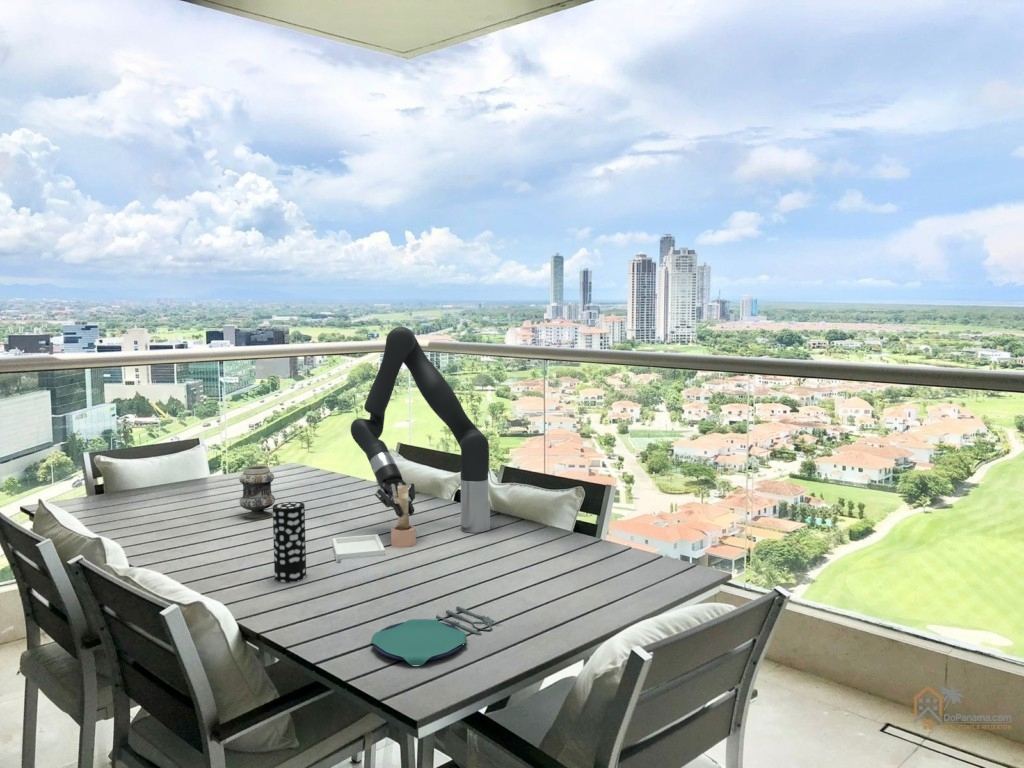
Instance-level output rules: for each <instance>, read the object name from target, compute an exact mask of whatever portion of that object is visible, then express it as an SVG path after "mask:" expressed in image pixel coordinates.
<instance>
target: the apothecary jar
mask: <svg viewBox="0 0 1024 768" xmlns="http://www.w3.org/2000/svg"><path fill="white" fill-rule="evenodd" d="M238 480H239V482H240V483H241V484H242V488H243V489H242V497H241V498H240V499H239V505H240V506H241V508H243V509H245V510H247V511H249V512H248V513H246V514H244V515H243V519H244V518H245V520H247V519H249V521H253V520H254V521H257V520H258V521H259V520H266V519H269V518H271V517H273V512H270V511H267V510H266V509H268V508H270V507H273V505H275V501H276V498H275V496H274V495H273V494H272V482H273V481H274V480H275V475H274V473H272V472H271V471H270V468H269V465H250V466H245V467H244V469H243V473H241V475H240V476H239V479H238Z"/></svg>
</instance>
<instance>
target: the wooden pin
mask: <svg viewBox="0 0 1024 768" xmlns="http://www.w3.org/2000/svg"><path fill="white" fill-rule="evenodd" d="M397 500H398V504H400V506H401V508H402V511H403V513H404V515H403V516H402V517H399V516H397V519H398V520H397V525H398V530H409V525H410V515H409V510H408V486H407V485H400V486H398V497H397Z"/></svg>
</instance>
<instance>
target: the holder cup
mask: <svg viewBox="0 0 1024 768" xmlns="http://www.w3.org/2000/svg"><path fill="white" fill-rule="evenodd" d="M416 529H417V528H416V526H415V525H411V524H409V530H398V524H396V525H394V526H392V527H391V526H390V545H391V546H392V547H394V548H400V549H402V548H409V547H410V548H411V547H413V546H415V545H416V544H417V535H416V532H417V530H416Z"/></svg>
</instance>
